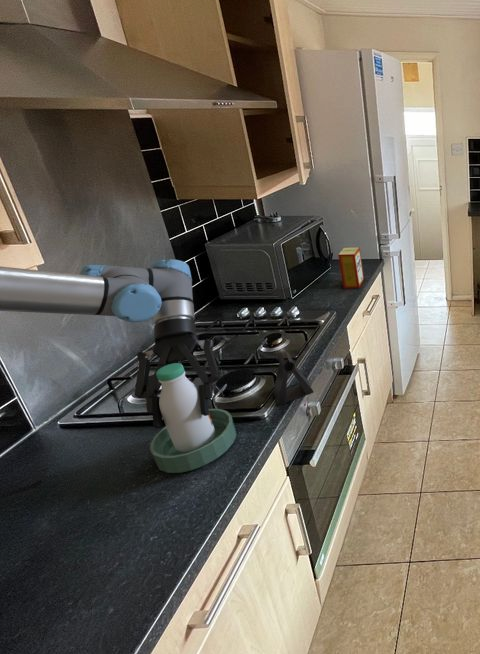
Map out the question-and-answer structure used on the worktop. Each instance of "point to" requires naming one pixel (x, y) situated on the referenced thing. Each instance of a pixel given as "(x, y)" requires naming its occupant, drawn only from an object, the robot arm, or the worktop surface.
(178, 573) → the worktop surface
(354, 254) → the baking soda box
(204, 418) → the milk bottle
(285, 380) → the phone stand
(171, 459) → the green jar lid
